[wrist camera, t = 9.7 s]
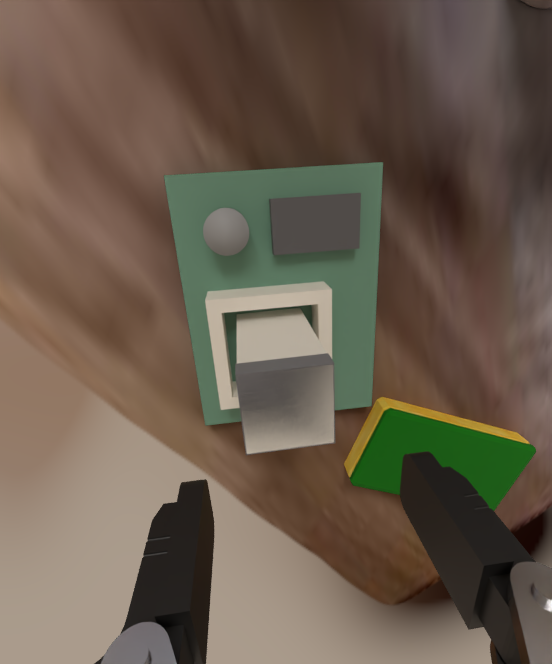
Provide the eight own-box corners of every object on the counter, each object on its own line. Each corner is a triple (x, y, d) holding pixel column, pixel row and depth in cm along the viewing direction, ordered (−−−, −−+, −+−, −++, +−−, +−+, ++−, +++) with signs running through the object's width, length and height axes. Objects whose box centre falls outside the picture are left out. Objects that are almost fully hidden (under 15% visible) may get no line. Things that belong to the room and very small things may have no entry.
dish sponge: (376, 392, 27) (389, 410, 24) (516, 430, 30) (539, 449, 27) (340, 463, 29) (349, 485, 26) (474, 492, 32) (493, 514, 29)
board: (168, 176, 19) (155, 172, 16) (374, 164, 20) (398, 158, 17) (206, 415, 25) (202, 444, 22) (365, 397, 26) (382, 422, 23)
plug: (235, 313, 21) (235, 374, 14) (300, 306, 22) (334, 363, 14) (242, 371, 23) (245, 455, 15) (303, 364, 23) (335, 443, 16)
